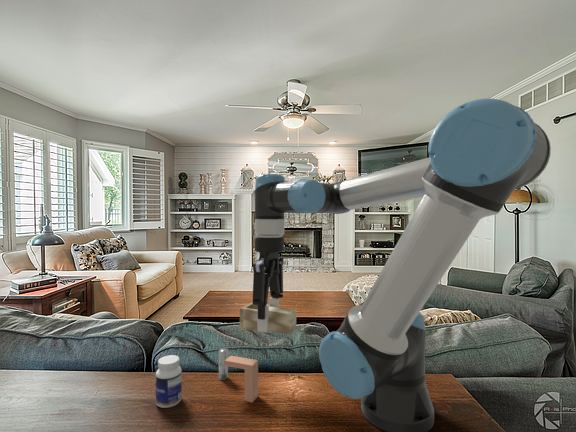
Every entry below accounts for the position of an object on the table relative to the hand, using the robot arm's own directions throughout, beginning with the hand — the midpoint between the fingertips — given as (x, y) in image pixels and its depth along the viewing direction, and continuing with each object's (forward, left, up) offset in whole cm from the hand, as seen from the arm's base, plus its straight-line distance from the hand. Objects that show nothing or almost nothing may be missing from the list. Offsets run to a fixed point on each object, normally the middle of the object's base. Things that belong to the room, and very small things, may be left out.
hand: (268, 326), depth 82 cm
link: (0, 0, 0) cm, 0 cm away
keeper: (+4, +6, -15) cm, 17 cm away
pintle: (+13, 0, -15) cm, 20 cm away
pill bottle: (+19, +14, -15) cm, 29 cm away
